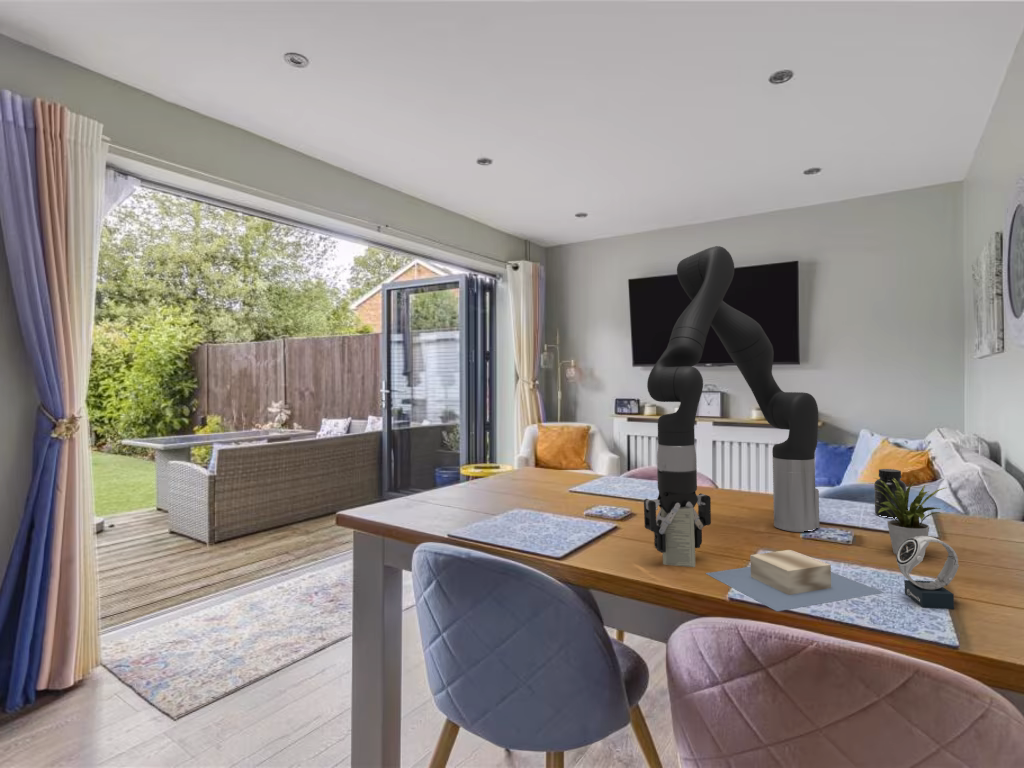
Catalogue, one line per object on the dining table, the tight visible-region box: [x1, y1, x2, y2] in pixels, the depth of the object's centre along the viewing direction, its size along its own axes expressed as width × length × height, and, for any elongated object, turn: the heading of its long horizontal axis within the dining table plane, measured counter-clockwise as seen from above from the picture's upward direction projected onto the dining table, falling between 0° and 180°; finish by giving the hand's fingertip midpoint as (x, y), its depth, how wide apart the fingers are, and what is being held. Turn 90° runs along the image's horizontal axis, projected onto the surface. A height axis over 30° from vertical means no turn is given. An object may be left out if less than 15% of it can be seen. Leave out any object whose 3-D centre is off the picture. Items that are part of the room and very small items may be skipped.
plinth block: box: [749, 549, 832, 595], centre depth 98 cm, size 9×9×4 cm
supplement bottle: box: [873, 468, 907, 517], centre depth 144 cm, size 7×7×12 cm
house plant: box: [869, 477, 950, 555], centre depth 114 cm, size 14×14×16 cm
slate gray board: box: [705, 566, 885, 612], centre depth 98 cm, size 22×18×1 cm
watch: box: [895, 535, 960, 610], centre depth 88 cm, size 6×8×11 cm
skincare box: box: [660, 507, 696, 568], centre depth 109 cm, size 6×4×12 cm
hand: (678, 549), depth 109 cm, fingers closed on skincare box, 7 cm apart
